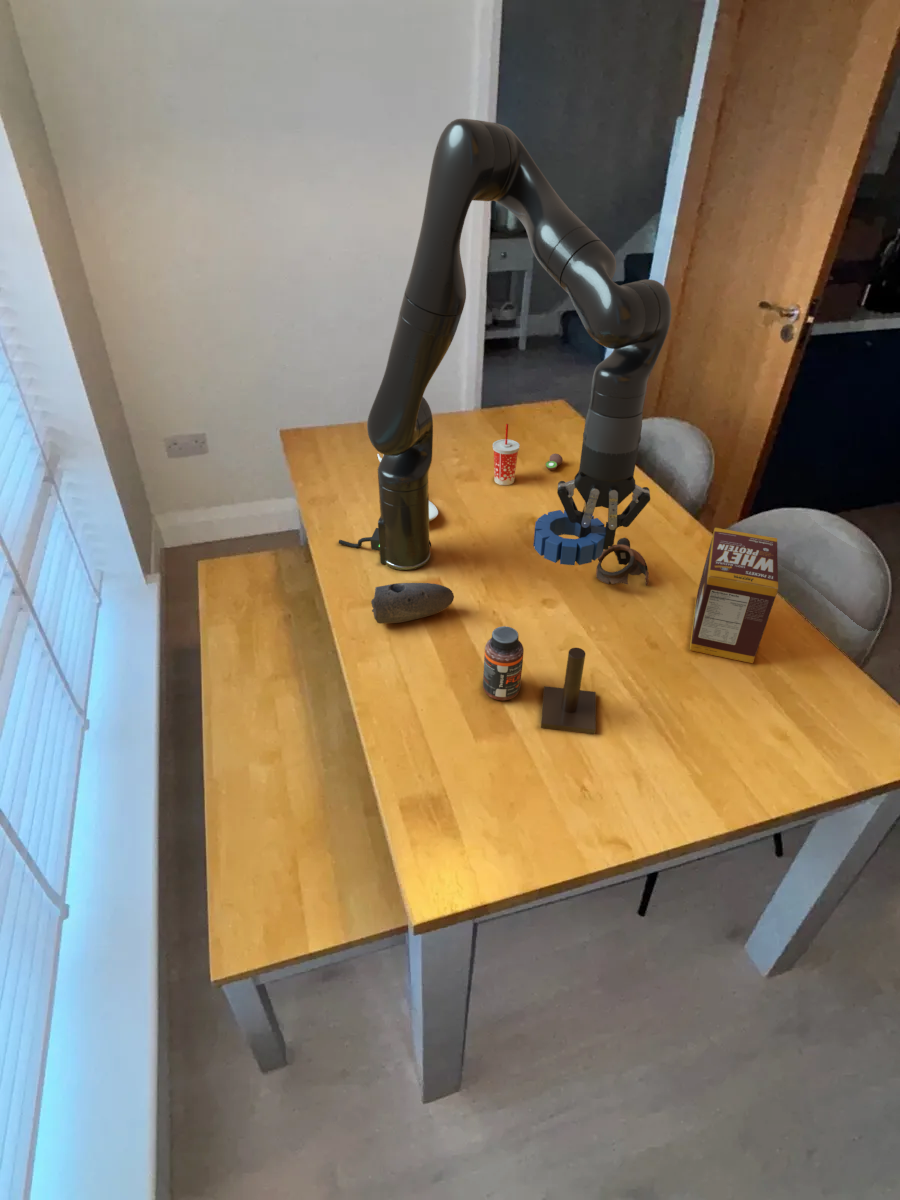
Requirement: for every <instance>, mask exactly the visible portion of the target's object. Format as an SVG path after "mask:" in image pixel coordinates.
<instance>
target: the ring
mask: <svg viewBox="0 0 900 1200" xmlns="http://www.w3.org/2000/svg"><path fill="white" fill-rule="evenodd" d="M580 528H581V525H580V524H579V523H571V522H570V520H569V518H568V516H567V514H566V511H565V509H564V510H561V509H557V510H553V511H548V512H547V513H543V514H542V515H541V516H540V517H538V518H537V519H536V521H535V524H534V534H533V547H534V548H533V549H534V550H535V551H536V553H537V554H538V555H539V556H540V557H542V556H543V559H545V560H548V561H550V562H552V563H555V564H557V563H558V562H559V565H564V566H565V565H566V566H575V565H576V564H577V565H578V566H582V565H587V564H590V563H592V562H593V561H594V562H595V561H597V560H598V558H599V557H600V556H601V555H602V552H603V551H604V549H603V548H604V542H605V536H606V526H605V523H604V522H603V521H601V520H600V519H599V518H598V517H595V515H592V518H591V530H590V534H588V535H587V536H586V537H583V538H579V535H580ZM564 535H565V536H574V537H577V538H567V537H562V536H564Z"/></svg>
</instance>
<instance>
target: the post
mask: <svg viewBox="0 0 900 1200" xmlns="http://www.w3.org/2000/svg"><path fill="white" fill-rule="evenodd" d="M567 654H568V655H567V660H566V669H565V676H564V684H563V687H556V686H549V685H548V686H547V685H544V687H543V693H542V707H541V718H540V728H541V729H548V730H559V731H565V732H574V733H584V734H589V735H591V734H592V735H595V734H596V730H597V729H596V728H597V727H596V726H597V723H596V722H597V721H596V720H597V719H596V716H597V715H596V713H597V712H596V711H597V709H596V708H597V703H596V701H597V700H596V699H597V698H596V697H597V695H596V694H597V692H596V691H594V690H593V691H591V690H584V689H583V690H582V689H581V685H582V679H583V673H584V667H585V660H586V651H585V650H584V649H583V648H580V647H571V648H570V649H569V650H568V653H567Z"/></svg>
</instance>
